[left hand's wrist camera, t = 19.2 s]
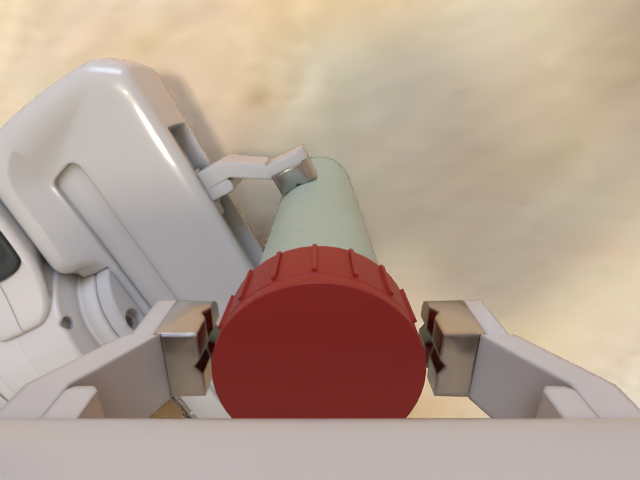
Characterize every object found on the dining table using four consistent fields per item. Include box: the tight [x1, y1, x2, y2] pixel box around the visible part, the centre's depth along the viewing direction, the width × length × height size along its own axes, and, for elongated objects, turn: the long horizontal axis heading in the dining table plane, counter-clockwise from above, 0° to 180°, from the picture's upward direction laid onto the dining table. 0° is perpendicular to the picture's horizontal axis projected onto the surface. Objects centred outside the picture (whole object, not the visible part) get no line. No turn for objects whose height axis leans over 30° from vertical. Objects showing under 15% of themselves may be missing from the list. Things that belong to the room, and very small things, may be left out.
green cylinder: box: [259, 157, 378, 265], centre depth 17 cm, size 4×4×16 cm
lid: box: [211, 244, 426, 418], centre depth 9 cm, size 5×5×2 cm
